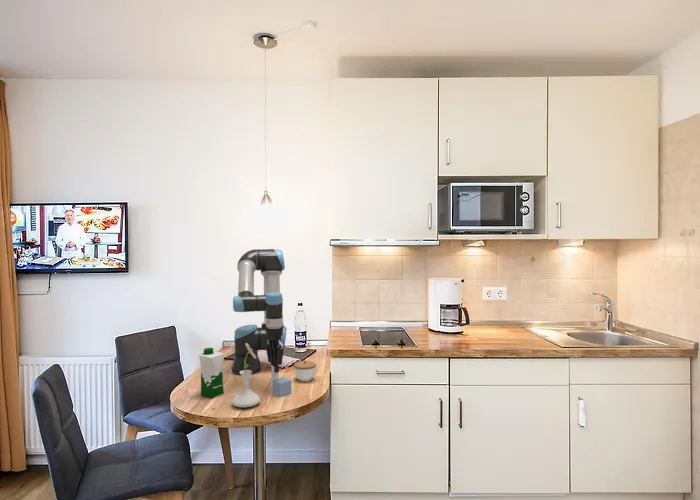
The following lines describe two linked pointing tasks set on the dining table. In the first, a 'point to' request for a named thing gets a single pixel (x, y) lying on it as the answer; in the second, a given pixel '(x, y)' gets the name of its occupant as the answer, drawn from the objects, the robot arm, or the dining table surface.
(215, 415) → the dining table surface
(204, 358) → the milk carton
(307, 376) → the lidded jar
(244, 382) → the flower in vase
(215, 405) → the dining table surface
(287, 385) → the block
